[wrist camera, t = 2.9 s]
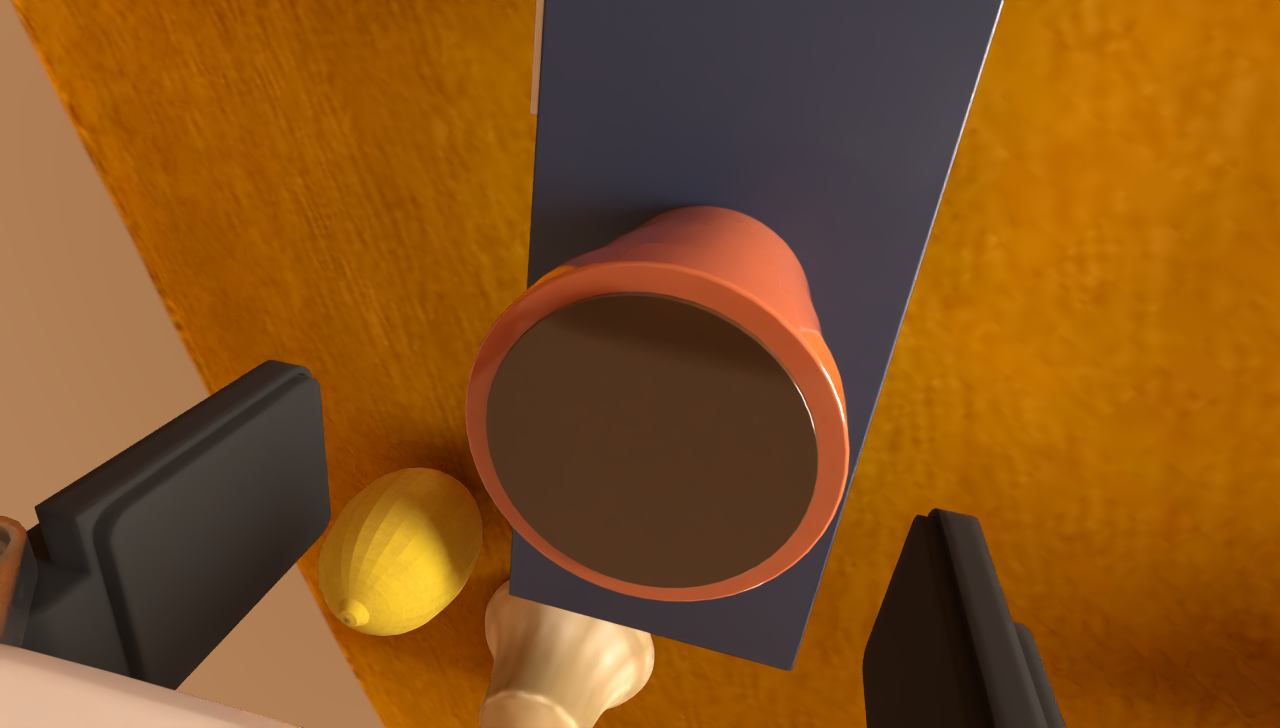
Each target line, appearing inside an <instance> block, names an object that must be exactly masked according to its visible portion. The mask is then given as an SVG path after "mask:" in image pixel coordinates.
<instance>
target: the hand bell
mask: <svg viewBox="0 0 1280 728" xmlns="http://www.w3.org/2000/svg"><path fill="white" fill-rule="evenodd" d="M509 581H510V579H509V580H507V581H506V582H504V583H503V584H502V585H501V586H500V587H499V588H498V589H497V590H496V591H495V592H494V594H493V595H492V597H491V599H490V600H489V603H488V605H487V609H486V614H485V633H486V639H487V643H488V646H489V649H490V652H491V654H492V656H493V658H494V667H493V672H492V677H491V680H490V683H489V687H488V690H487V693H486V695H485V698H484V701H483V704H482V706H481V709H480V716H479V722H480V728H592V727H593V726H594V724H595V722H596V721H597V720H598V718H599V717H600V715H601V714H602V713H603V712H604V711H605V710H606V709H609V708H612V707H615V706H618V705H620V704H622V703H624V702H625V701H627V700H629V699H630V698H631V697H633V696H634V695H635V694H636V693H638V692H639V691H640V690H641V689H642V688H643V687H644V685H645V684H646V683H647V681H648V679H649V677H650V675H651V672H652V670H653V665H654V647H653V642H652V639H651V635H650V633H647V632H644V631H640V630H636V629H633V628H629V627H625V626H622V625H618V624H614V623H611V622H607V621H603V620H600V619H596V618H592V617H589V616H585V615H581V614H578V613H574V612H570V611H567V610H563V609H559V608H556V607H552V606H548V605H545V604H541V603H537V602H534V601H530V600H526V599H523V598H519V597H515V596H512V595H509Z"/></svg>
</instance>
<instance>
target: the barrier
mask: <svg viewBox="0 0 1280 728" xmlns="http://www.w3.org/2000/svg"><path fill="white" fill-rule="evenodd" d="M1003 3H1004V0H537V1H536V19H535V37H534V55H533V73H532V91H531V109H530V114H532V115H537V129H536V145H535V162H534V179H533V196H532V212H531V229H530V246H529V263H528V279H527V290H528V289H529V288H530V287H531V286H532V285H534V284H535V283H536V282H537V281H538V280H539V279H541V278H542V277H543V276H544V275H545V274H547V273H548V272H550V271H552V270H553V269H555V268H556V267H558V266H560V265H561V264H563V263H564V262H567V261H569V260H571V259H574V258H576V257H578V256H580V255H583V254H585V253H588V252H591V251H595V250H599V249H601V248H602V247H604V246H605V245H607V244H608V243H610V242H612V241H613V240H615V239H617V238H618V237H621V236H623V235H625V234H627V233H630V232H632V231H634V230H635V229H636V228H638V227H639V226H640V225H642V224H643V223H645V222H646V221H648V220H650V219H651V218H653V217H655V216H657V215H660V214H662V213H664V212H667V211H671V210H674V209H678V208H683V207H690V206H713V207H722V208H726V209H730V210H734V211H737V212H740V213H742V214H745V215H747V216H750V217H752V218H754V219H755V220H757V221H759V222H761V223H763V224H764V225H765V226H767V227H768V228H770V229H771V230H772V231H774V232H775V233H776V234H777V235H778V236H779V237H780V238H781V239H782V240H783V241H784V242H785V243H786V244H787V245H788V247H789V248H790V249H791V250H792V252H793V253H794V254H795V256H796V258H797V259H798V261H799V263H800V265H801V266H802V269H803V271H804V274H805V276H806V278H807V282H808V286H809V290H810V294H811V302H812V305H813V307H814V310H815V312H816V315H817V317H818V320H819V324H820V328H821V332H822V336H823V340H824V342H825V343H826V345H827V347H828V348H829V350H830V352H831V354H832V357H833V359H834V361H835V364H836V366H837V369H838V371H839V374H840V377H841V381H842V385H843V389H844V393H845V397H846V408H847V418H848V434H849V465H848V475H847V479H846V484H845V488H844V492H843V496H842V498H841V501H840V503H839V506H838V508H837V511H836V513H835V515H834V517H833V519H832V520H831V522H830V524H829V525H828V527H827V529H826V530H825V532H824V534H823V535H822V536H821V537H820V538H819V540H818V541H817V542H816V543H815V544H814V546H813V547H812V548H811V549H810V550H809V552H808V553H806V554H805V555H804V556H803V557H802V558H801V559H800V560H799V561H797V562H796V563H795V564H794V565H793V566H792V567H790V568H789V569H787V570H786V571H784V572H783V573H781V574H780V575H778V576H777V577H775V578H773V579H771V580H769V581H767V582H765V583H763V584H761V585H759V586H757V587H755V588H752V589H749V590H746V591H743V592H741V593H738V594H735V595H730V596H726V597H721V598H716V599H711V600H701V601H691V602H687V601H660V600H651V599H644V598H639V597H635V596H630V595H625V594H622V593H618V592H615V591H612V590H609V589H606V588H603V587H600V586H598V585H596V584H593V583H591V582H589V581H586V580H584V579H582V578H580V577H578V576H576V575H574V574H573V573H571V572H569V571H567V570H565V569H563V568H562V567H560V566H559V565H557V564H556V563H554V562H553V561H551V560H550V559H548V558H547V557H546V556H544V555H543V554H542V553H540V552H539V551H538V550H537V549H536V548H534V547H533V546H532V545H531V544H530V543H528V542H527V541H526V540H525V539H524V538H523V537H522V536H521V535H520V534H519V533H518V532H517V531H516V530H515V529H514V527H513V530H512V547H511V564H510V581H509V595H512V596H515V597H519V598H523V599H526V600H530V601H534V602H537V603H541V604H545V605H548V606H552V607H556V608H559V609H563V610H567V611H570V612H574V613H578V614H581V615H585V616H589V617H592V618H596V619H600V620H603V621H607V622H611V623H614V624H618V625H622V626H625V627H629V628H633V629H636V630H640V631H644V632H647V633H651V634H655V635H658V636H662V637H666V638H669V639H673V640H677V641H680V642H684V643H688V644H691V645H695V646H699V647H702V648H706V649H710V650H713V651H717V652H721V653H724V654H728V655H732V656H735V657H739V658H743V659H746V660H750V661H754V662H757V663H761V664H765V665H768V666H772V667H776V668H779V669H783V670H787V671H792V669H793V667H794V663H795V660H796V657H797V654H798V651H799V648H800V644H801V641H802V638H803V635H804V632H805V629H806V625H807V622H808V619H809V616H810V613H811V610H812V607H813V603H814V600H815V597H816V594H817V591H818V588H819V584H820V581H821V578H822V575H823V572H824V569H825V565H826V562H827V559H828V556H829V553H830V550H831V547H832V543H833V540H834V537H835V534H836V531H837V528H838V524H839V521H840V518H841V515H842V512H843V509H844V505H845V502H846V499H847V496H848V493H849V490H850V486H851V483H852V480H853V477H854V474H855V471H856V468H857V464H858V461H859V458H860V455H861V452H862V449H863V445H864V442H865V439H866V436H867V433H868V430H869V426H870V423H871V420H872V417H873V414H874V411H875V408H876V404H877V401H878V398H879V395H880V392H881V389H882V385H883V382H884V379H885V376H886V373H887V370H888V366H889V363H890V360H891V357H892V354H893V351H894V348H895V344H896V341H897V338H898V335H899V332H900V329H901V325H902V322H903V319H904V316H905V313H906V310H907V306H908V303H909V300H910V297H911V294H912V291H913V288H914V284H915V281H916V278H917V275H918V272H919V269H920V265H921V262H922V259H923V256H924V253H925V250H926V246H927V243H928V240H929V237H930V234H931V231H932V228H933V224H934V221H935V218H936V215H937V212H938V209H939V205H940V202H941V199H942V196H943V193H944V190H945V186H946V183H947V180H948V177H949V174H950V171H951V168H952V164H953V161H954V158H955V155H956V152H957V149H958V145H959V142H960V139H961V136H962V133H963V130H964V126H965V123H966V120H967V117H968V114H969V111H970V108H971V104H972V101H973V98H974V95H975V92H976V89H977V85H978V82H979V79H980V76H981V73H982V70H983V66H984V63H985V60H986V57H987V54H988V51H989V48H990V44H991V41H992V38H993V35H994V32H995V29H996V25H997V22H998V19H999V16H1000V13H1001V10H1002V6H1003Z"/></svg>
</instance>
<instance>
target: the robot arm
mask: <svg viewBox="0 0 1280 728" xmlns="http://www.w3.org/2000/svg"><path fill="white" fill-rule="evenodd" d="M35 510H36V513H37V517H38V520H39V524H37V525H35V526H34V527H33V528H31V529H29V530H28V531H26V529H25V528H24V527H23V526H22V525H21V524H20V523H19V522H18V521H16V520H13V519H10V518H8V517H5V516H0V728H303V727H299V726H296V725H292V724H289V723H285V722H282V721H279V720H275V719H271V718H268V717H265V716H261V715H258V714H254V713H251V712H247V711H244V710H241V709H237V708H234V707H230V706H227V705H223V704H220V703H216V702H213V701H209V700H206V699H202V698H199V697H195V696H192V695H188V694H185V693H182V692H178V691H175V690H176V689H177V688H178V687H179V686H180V684H181V683H182V682H183V681H184V680H185V679H186V678H187V677H188V676H189V675H190V674H191V673H192V672H193V671H194V669H196V668H197V667H198V665H199V664H200V663H201V662H202V661H203V660H204V659H205V658H206V657H207V656H208V655H209V654H210V653H211V652H212V651H213V650H214V649H215V647H216V646H217V645H218V644H219V643H220V642H221V641H222V640H223V639H224V638H225V637H226V636H227V635H228V634H229V633H230V631H232V629H233V628H234V627H235V626H236V625H237V624H238V623H239V622H240V621H241V620H242V619H243V618H244V617H245V616H246V615H247V614H248V613H249V611H250V610H251V609H252V608H253V607H254V606H255V605H256V604H257V603H258V602H259V601H260V600H261V599H262V598H263V596H265V594H266V593H267V592H268V591H269V590H270V589H271V588H272V587H273V586H274V585H275V584H276V583H277V582H278V581H279V580H280V578H281V577H282V576H283V575H284V574H285V573H286V572H287V571H288V570H289V569H290V568H291V567H292V566H293V565H294V564H295V563H296V562H297V561H298V560H299V558H300V557H301V556H302V555H303V554H304V553H305V552H306V551H307V550H308V549H309V548H310V547H311V546H312V545H313V544H314V543H315V542H316V540H317V539H318V538H319V537H320V536H321V535H322V534H323V533H324V531H325V529H326V528H327V526H328V523H329V520H330V515H331V509H330V497H329V486H328V474H327V462H326V451H325V439H324V428H323V416H322V404H321V393H320V386H319V383H318V381H317V380H316V379H314V378H312V374H311V372H310V371H309V369H307V368H306V367H303V366H298V365H294V364H289V363H285V362H280V361H276V360H268V361H266V362H263V363H262V364H260V365H259V366H257V367H256V368H254V369H252V370H251V371H249V372H248V373H246V374H244V375H243V376H241V377H240V378H238V379H237V380H235V381H233V382H232V383H230V384H229V385H227V386H225V387H224V388H222V389H221V390H219V391H218V392H216V393H214V394H213V395H211V396H210V397H208V398H207V399H205V400H204V401H202V402H200V403H199V404H197V405H196V406H194V407H192V408H191V409H189V410H187V411H186V412H184V413H183V414H181V415H179V416H178V417H177V418H175V419H173V420H172V421H170V422H168V423H167V424H165V425H164V426H162V427H161V428H159V429H158V430H156V431H154V432H153V433H151V434H149V435H148V436H146V437H145V438H143V439H142V440H140V441H138V442H137V443H135V444H133V445H132V446H130V447H129V448H127V449H126V450H124V451H122V452H121V453H119V454H118V455H116V456H115V457H113V458H111V459H110V460H108V461H107V462H105V463H103V464H102V465H100V466H99V467H97V468H96V469H94V470H92V471H91V472H89V473H88V474H86V475H84V476H83V477H81V478H80V479H78V480H77V481H75V482H73V483H72V484H70V485H69V486H67V487H65V488H64V489H62V490H61V491H59V492H57V493H56V494H54V495H53V496H51V497H49V498H48V499H46V500H45V501H43V502H42V503H40V504H38V505H37V506H35ZM863 684H864V697H865V709H866V721H867V728H1066V727H1065V724H1064V721H1063V718H1062V716H1061V713H1060V710H1059V707H1058V705H1057V702H1056V699H1055V696H1054V693H1053V691H1052V688H1051V685H1050V682H1049V680H1048V677H1047V674H1046V671H1045V669H1044V666H1043V663H1042V660H1041V658H1040V655H1039V652H1038V649H1037V646H1036V644H1035V641H1034V638H1033V636H1032V635H1031V633H1030V631H1029V629H1028V628H1027V627H1025V626H1024V625H1023V624H1019V623H1015V622H1013V621H1012V618H1011V616H1010V613H1009V610H1008V607H1007V604H1006V601H1005V598H1004V595H1003V592H1002V589H1001V586H1000V583H999V580H998V577H997V574H996V571H995V568H994V565H993V562H992V559H991V556H990V553H989V550H988V547H987V544H986V541H985V538H984V535H983V532H982V529H981V526H980V523H979V521H978V520H977V518H975V517H972V516H968V515H964V514H959V513H955V512H950V511H946V510H941V509H937V508H935V509H932V511H931V512H930V513H929V515H928V517H926V516H922V515H917V516H916V517H915V518H914V520H913V523H912V525H911V528H910V530H909V533H908V536H907V538H906V541H905V544H904V546H903V549H902V552H901V554H900V557H899V560H898V562H897V565H896V568H895V570H894V573H893V576H892V578H891V581H890V584H889V586H888V589H887V592H886V594H885V597H884V600H883V602H882V605H881V608H880V610H879V613H878V616H877V618H876V621H875V624H874V626H873V629H872V632H871V634H870V637H869V640H868V642H867V645H866V648H865V652H864V658H863Z"/></svg>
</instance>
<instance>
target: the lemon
mask: <svg viewBox="0 0 1280 728" xmlns="http://www.w3.org/2000/svg"><path fill="white" fill-rule="evenodd" d="M482 538H483V526H482V519H481V513H480V511H479V508H478V506H477V503H476V501H475V499H474V497H473V496H472V495H471V493H470V492H469V490H468V489H467V488H466V487H465V486H464V485H463V484H462V483H460V482H459V481H458V480H457V479H455V478H453V477H452V476H450V475H449V474H446V473H444V472H441V471H439V470H435V469H429V468H422V467H419V468H406V469H401V470H398V471H395V472H392V473H389V474H386V475H384V476H382V477H380V478H378V479H376V480H375V481H373V482H372V483H370V484H369V485H368V486H367V487H365V488H364V489H363V490H362V491H360V492H359V493H358V494H357V495H355V496H354V497H353V498H352V499H351V500H350V501H349V502H348V504H347V505H346V506H345V507H344V509H343V510H342V511H341V513H340V514H339V516H338V517H337V519H336V521H335V522H334V524H333V526H332V527H331V529H330V531H329V533H328V535H327V536H326V538H325V541H324V543H323V545H322V549H321V552H320V557H319V563H318V578H319V585H320V590H321V592H322V595H323V597H324V600H325V602H326V604H327V606H328V607H329V609H330V610H331V612H332V613H333V614H334V615H335V616H336V617H337V618H338V619H339V620H340V621H341V622H342V623H344V624H345V625H347V626H348V627H350V628H352V629H354V630H356V631H359V632H362V633H365V634H370V635H379V636H388V635H396V634H403V633H405V632H408V631H411V630H413V629H416V628H418V627H420V626H422V625H424V624H425V623H427V622H428V621H430V620H431V619H432V618H434V617H435V616H436V615H437V614H438V613H439V612H440V611H442V610H443V609H444V608H445V607H446V606H447V605H448V604H449V603H450V602H451V601H452V600H453V599H454V598H455V597H456V596H457V595H458V594H459V593H460V591H461V590H462V588H463V587H464V586H465V584H466V582H467V581H468V579H469V577H470V575H471V573H472V571H473V570H474V568H475V565H476V563H477V561H478V558H479V555H480V551H481V545H482Z"/></svg>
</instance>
